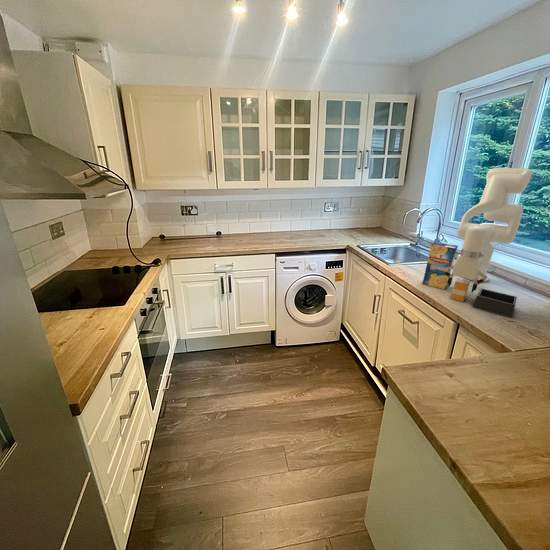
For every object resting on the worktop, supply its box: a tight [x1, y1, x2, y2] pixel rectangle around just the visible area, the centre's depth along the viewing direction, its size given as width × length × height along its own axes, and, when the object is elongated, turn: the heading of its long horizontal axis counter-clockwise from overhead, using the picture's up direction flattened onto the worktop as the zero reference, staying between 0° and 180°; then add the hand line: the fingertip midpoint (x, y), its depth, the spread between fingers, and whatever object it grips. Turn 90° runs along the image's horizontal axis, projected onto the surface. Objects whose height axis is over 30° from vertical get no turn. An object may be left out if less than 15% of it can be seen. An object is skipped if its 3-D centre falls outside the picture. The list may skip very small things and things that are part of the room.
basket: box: [473, 287, 518, 318], centre depth 129 cm, size 14×12×6 cm
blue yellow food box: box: [422, 241, 459, 290], centre depth 150 cm, size 7×11×22 cm, turn 51°
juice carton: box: [450, 277, 471, 302], centre depth 137 cm, size 6×5×9 cm
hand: (460, 288), depth 136 cm, fingers open, 9 cm apart
